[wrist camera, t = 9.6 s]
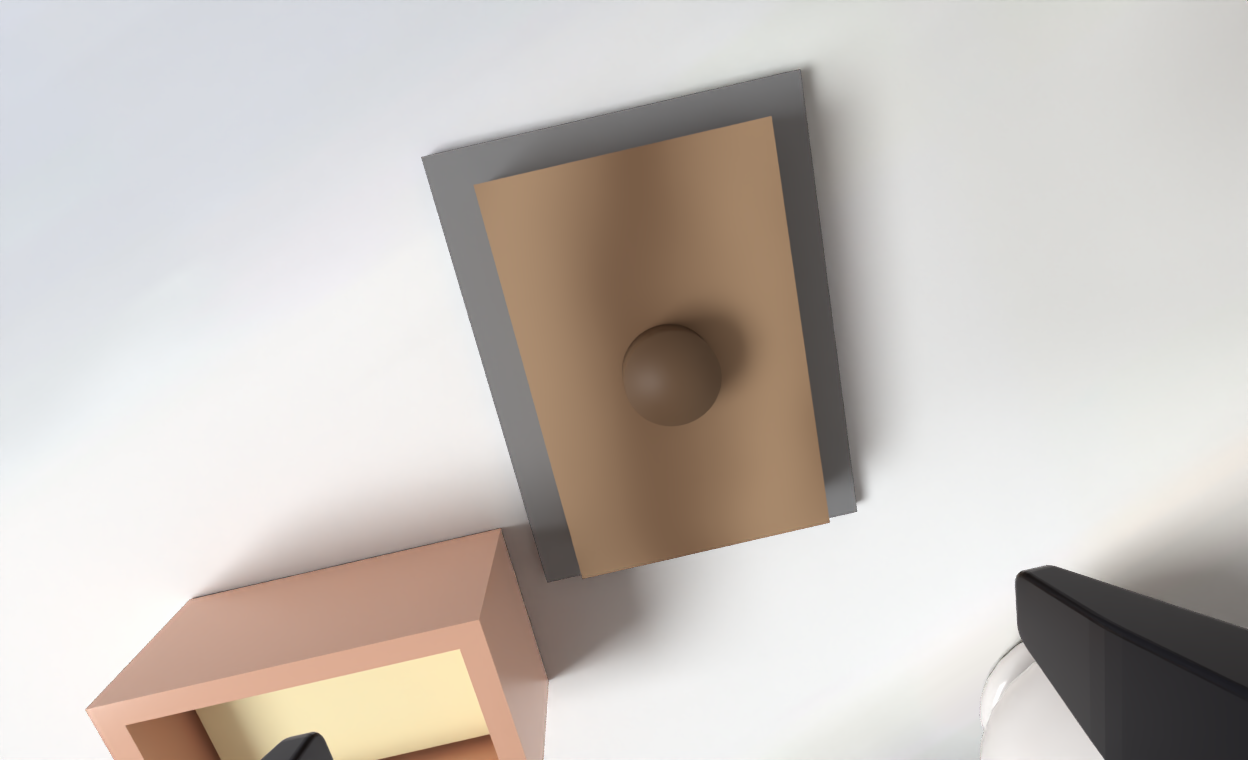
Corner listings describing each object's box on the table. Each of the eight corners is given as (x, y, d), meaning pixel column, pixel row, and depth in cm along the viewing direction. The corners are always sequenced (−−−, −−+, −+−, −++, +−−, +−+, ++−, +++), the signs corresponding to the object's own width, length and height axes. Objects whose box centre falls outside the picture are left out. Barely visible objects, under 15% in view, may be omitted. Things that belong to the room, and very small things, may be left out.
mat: (852, 505, 21) (857, 511, 21) (547, 575, 21) (547, 582, 21) (795, 71, 17) (800, 69, 17) (424, 157, 17) (421, 157, 17)
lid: (752, 122, 17) (784, 111, 14) (808, 494, 20) (843, 540, 18) (484, 184, 17) (466, 184, 14) (582, 545, 20) (582, 600, 18)
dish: (548, 682, 22) (540, 801, 18) (261, 747, 22) (184, 881, 18) (500, 528, 20) (479, 619, 16) (189, 599, 21) (84, 709, 16)
